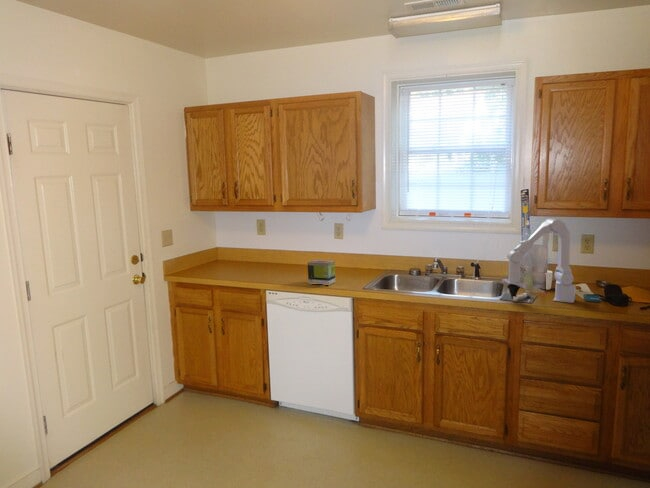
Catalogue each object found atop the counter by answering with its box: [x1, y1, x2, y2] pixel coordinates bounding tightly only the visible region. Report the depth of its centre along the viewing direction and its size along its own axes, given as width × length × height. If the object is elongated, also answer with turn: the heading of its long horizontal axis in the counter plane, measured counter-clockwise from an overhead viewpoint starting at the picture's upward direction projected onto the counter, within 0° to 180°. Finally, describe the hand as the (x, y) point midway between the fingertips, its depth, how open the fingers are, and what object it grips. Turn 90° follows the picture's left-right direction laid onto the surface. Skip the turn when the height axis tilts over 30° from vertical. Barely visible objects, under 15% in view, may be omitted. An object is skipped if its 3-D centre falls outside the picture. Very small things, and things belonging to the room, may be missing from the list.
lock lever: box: [512, 292, 531, 302], centre depth 254 cm, size 14×4×2 cm, turn 127°
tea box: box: [307, 259, 336, 285], centre depth 304 cm, size 15×10×15 cm, turn 63°
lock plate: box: [499, 292, 537, 304], centre depth 258 cm, size 16×15×1 cm
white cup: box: [545, 269, 554, 291], centre depth 275 cm, size 8×8×10 cm
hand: (513, 298), depth 253 cm, fingers closed
